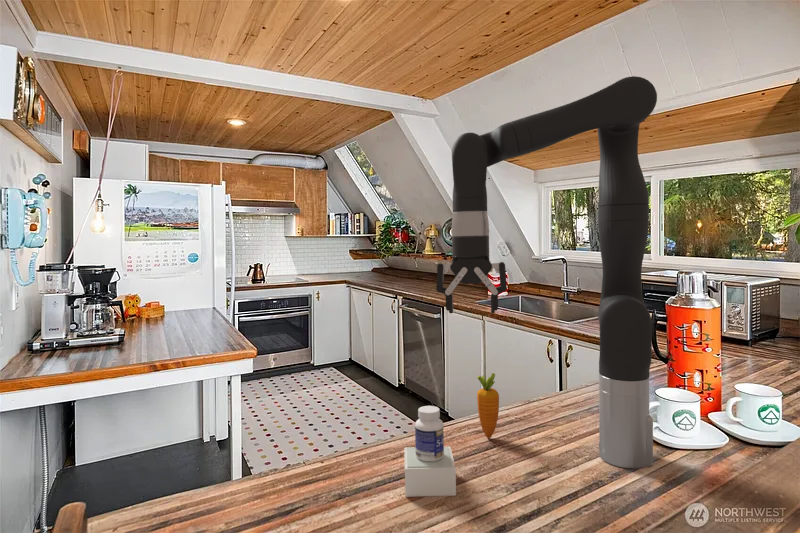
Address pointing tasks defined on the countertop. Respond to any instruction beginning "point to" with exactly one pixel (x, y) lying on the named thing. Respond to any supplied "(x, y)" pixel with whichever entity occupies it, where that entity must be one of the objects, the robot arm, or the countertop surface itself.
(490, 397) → the carrot
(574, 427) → the countertop surface
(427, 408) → the pill bottle
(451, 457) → the pedestal
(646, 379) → the robot arm
